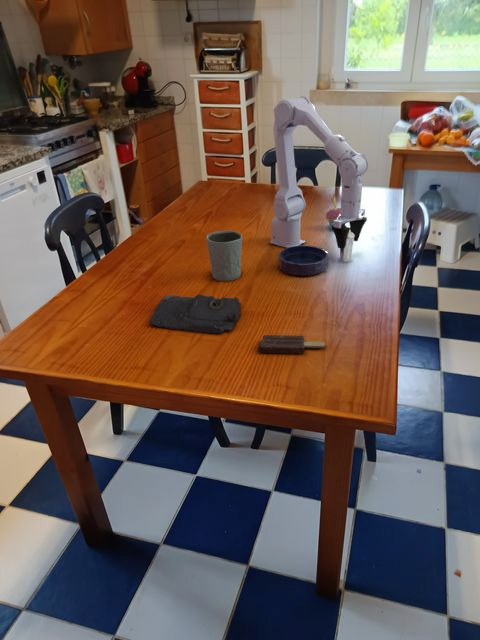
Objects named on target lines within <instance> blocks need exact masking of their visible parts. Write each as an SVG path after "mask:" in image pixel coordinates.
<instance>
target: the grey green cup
mask: <svg viewBox="0 0 480 640" xmlns="http://www.w3.org/2000/svg"><path fill="white" fill-rule="evenodd" d="M205 238H206V244H207V250H208V253H209V262H210V266H211V267H210V268H211V269H210V270H211V275H212V278H213V279H214V280H217V281H218V282H219V281H220V282H230V281H235V280H237V279H239V278H240V277H241V275H242V250H243V249H242V248H243V247H242V246H243V235H242V233H240V232H238V231H235V230H218V231H213V232H210V233H209V234H207V235H206V237H205Z"/></svg>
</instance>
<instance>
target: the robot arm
mask: <svg viewBox="0 0 480 640" xmlns="http://www.w3.org/2000/svg"><path fill="white" fill-rule="evenodd" d="M315 108H316V107H315V105H314V104H313V103H312V102H311V100H310V99H309V98H308V97H307V96H299V97H295V98H294V97H293V98H290V99H282V100H280V101H279V102H278V103H277V104H276V106H274V108H273V114H274V121H273V127H272V128H273V139H274V149H275V157H276V166H277V176H278V186H279V189H278V190H277V192H276V194H275V195H274V205H273V212H274V216H273V217H272V220H271V224H270V227H271V228H270V229H271V230H270V233H271V241H269V244H272V245H275V246H278V247H279V246H280V247H283V248H288V247H292V246H302V245H303V244H305V243H306V240H304V239H301V219H302V218H301V217H302V215H303V213H304V211H305V209H306V200H305V197H304V196H303V190H302V189H301V188H300V187H299V186H298V184H297V183H298V182H297V174H296V161H295V160H296V159H295V151H294V141H293V132H295V130H296V129H297V128H298V127H299V126H305V127H307V129H308V130H310V132H312V133H313V134H314V135H315V137H317V138H318V139H319V140H320V142H322V144H324V151H325V153H326V154H327V155H328V156H329V158H330V159H331V160H332V161H333V162H334V163H335V164H336V165H337V166H338V173H339V176H340V178H341V193H340V194H341V197H340V208H341V210H340V214H339V216H338V217H337V219H336V220H334V224H332V226H331V228H332V229H331V228H330V229H331V230H332V232H333V234H334V236H335V241H336V246H337V248H338V249H340V248H341V249H345V246H346V240H347V236H348V233H349V231H350V232H352V233H353V234H354V235H355V236H354V242H358V241H359V239H360V235H361V232H362V230H363V227H364V225H365V224H366V222H367V221H368V219H367V218H368V217H366V216H365V215H366V208H363V207H361V206H362V193H363V181H364V174H365V173H367V171H368V168H369V164H368V160H367V158H366V157H365V155H364V154H362V153H357V151H356V150H355V149H353V148H352V147H351V146H350V145H349V144H348V142H347V141H346V137H344V136H343V135H342V136H341V135H340V134H334V133H333V132H332V131H331V130H330V128H329V127H328V125H327V124H326V123H325V121H324V120H323V119H322V118H321V116H320V115H319V114H318V112H317V111H316V109H315ZM346 224H349V227H348V226H347V225H346ZM357 230H358V231H357ZM355 233H356V234H355Z"/></svg>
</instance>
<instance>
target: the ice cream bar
mask: <svg viewBox="0 0 480 640" xmlns="http://www.w3.org/2000/svg"><path fill="white" fill-rule="evenodd" d="M325 346H326V342H324V341H305V338H304V335H293V334H292V335H287V334H284V335H283V334H280V335H279V334H264V335H262V340H259V341H258V351H259V353H262V354H296V355H297V354H298V355H299V354H300V355H303V354H304V351H305V348H319V349H321V348H325Z"/></svg>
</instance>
